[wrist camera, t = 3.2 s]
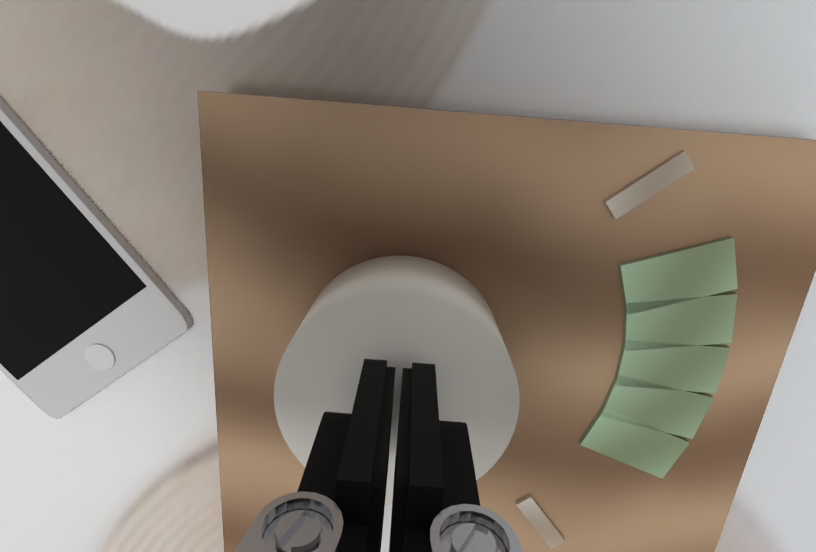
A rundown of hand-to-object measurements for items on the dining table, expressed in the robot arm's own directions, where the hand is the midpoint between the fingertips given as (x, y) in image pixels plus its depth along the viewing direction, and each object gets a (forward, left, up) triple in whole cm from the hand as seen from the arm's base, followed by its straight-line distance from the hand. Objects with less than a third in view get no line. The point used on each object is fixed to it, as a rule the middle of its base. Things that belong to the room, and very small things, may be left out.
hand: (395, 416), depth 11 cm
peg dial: (+4, 0, -3) cm, 6 cm away
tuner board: (+3, +3, -6) cm, 7 cm away
